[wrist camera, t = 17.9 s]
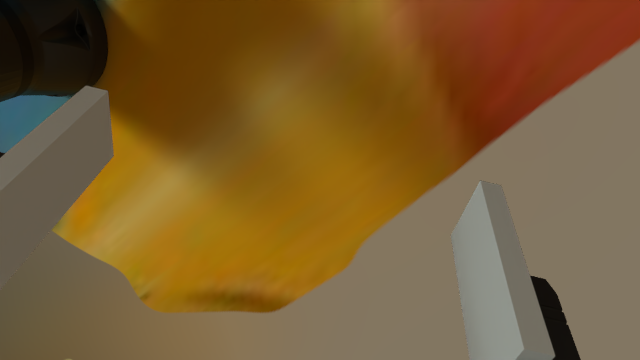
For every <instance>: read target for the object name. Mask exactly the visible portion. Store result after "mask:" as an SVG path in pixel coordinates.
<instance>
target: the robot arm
mask: <svg viewBox="0 0 640 360" xmlns="http://www.w3.org/2000/svg"><path fill="white" fill-rule="evenodd" d="M106 60H107V37H106V32H105V27H104V24H103V21H102V18H101V15H100V13H99V11H98V8H97V6H96V4H95V3H94V1H93V0H0V102H2V101H5V100H8V99H11V98H14V97H17V96H20V95H47V96H55V97H62V96H68V95H72V94H75V93H76V94H75V95H74V96H73V97H72V98H71V99H69V100H68V101H67V102H66V103H65V104H63V105H62V106H61V107H60V108H59V109H57V110H56V111H55V112H54V113H53V114H52V115H50V116H49V117H48V118H47V119H46V120H44V121H43V122H42V123H41V124H40V125H39V126H37V127H36V128H35V129H34V130H33V131H31V132H30V133H29V134H28V135H27V136H25V137H24V138H23V139H22V140H21V141H20V142H18V143H17V144H16V145H15V146H14V147H12V148H11V149H10V150H9V151H8V152H7V153H1V152H0V290H1V289H2V287H3V286H4V285H5V284H6V283H7V282H8V280H9V279H10V278H11V277H12V276H13V274H14V273H15V272H16V271H17V270H18V269H19V267H20V266H21V265H22V264H23V263H24V261H25V260H26V259H27V258H28V257H29V256H30V254H31V253H32V252H33V251H34V250H35V248H36V247H37V246H38V245H39V244H40V242H41V241H42V240H43V239H44V238H45V236H46V235H47V234H48V233H49V232H50V231H51V229H52V228H53V227H54V226H55V225H56V224H57V222H58V221H59V220H60V219H61V218H62V216H63V215H64V214H65V213H66V212H67V211H68V209H69V208H70V207H71V206H72V205H73V203H74V202H75V201H76V200H77V199H78V197H79V196H80V195H81V194H82V193H83V192H84V190H85V189H86V188H87V187H88V186H89V184H90V183H91V182H92V181H93V180H94V179H95V177H96V176H97V175H98V174H99V173H100V171H101V170H102V169H103V168H104V167H105V165H106V164H107V163H108V162H109V161H110V160H111V158H112V157H113V156H114V155H113V143H112V131H111V119H110V107H109V95H108V91H106V90H102V89H98V88H94V87H91V86H92V85H94V84H95V83H96V82H97V81H98V79H99V78H100V76H101V75H102V73H103V70H104V68H105V64H106ZM451 240H452V247H453V253H454V260H455V267H456V273H457V280H458V286H459V293H460V299H461V306H462V312H463V319H464V325H465V331H466V339H467V345H468V352H469V358H470V360H581V359H580V357H579V354H578V351H577V348H576V346H575V343H574V340H573V337H572V335H571V332H570V329H569V326H568V325H566V323H567V321H566V318H565V315H564V313H563V312H562V307H561V304H560V301H559V299H558V296H557V294H556V292H555V291H554V290H553V288H552V287H551V286H550V285H549V283H548V282H547V281H546V279H543V278H538V277H534V276H530V274H529V271H528V268H527V265H526V262H525V259H524V255H523V252H522V249H521V246H520V243H519V240H518V237H517V233H516V230H515V227H514V224H513V221H512V218H511V214H510V211H509V208H508V205H507V202H506V199H505V196H504V192H503V189H502V186H501V185H498V184H494V183H489V182H485V181H481V180H480V182H479V184H478V185H477V187H476V189H475V191H474V193H473V195H472V197H471V199H470V201H469V202H468V204H467V206H466V208H465V210H464V212H463V214H462V215H461V217H460V219H459V221H458V223H457V225H456V227H455V228H454V231H453V232H452V234H451Z"/></svg>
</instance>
